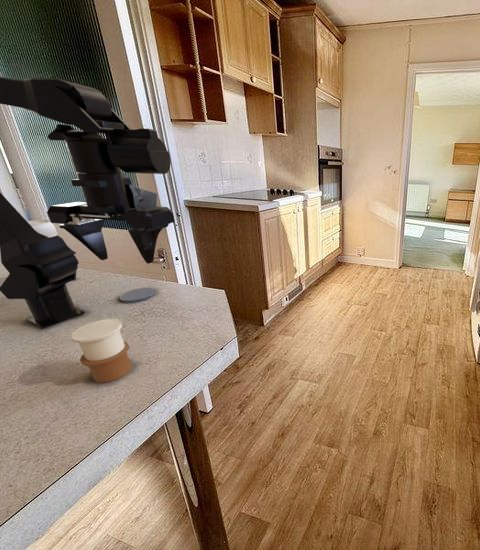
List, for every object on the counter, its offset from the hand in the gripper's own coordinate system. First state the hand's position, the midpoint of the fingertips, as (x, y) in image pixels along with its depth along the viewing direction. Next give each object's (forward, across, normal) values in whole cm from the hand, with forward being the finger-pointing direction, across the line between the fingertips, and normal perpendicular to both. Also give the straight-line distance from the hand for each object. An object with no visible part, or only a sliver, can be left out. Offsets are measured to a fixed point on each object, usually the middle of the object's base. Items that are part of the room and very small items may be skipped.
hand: (127, 261), depth 54 cm
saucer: (+12, +8, -8) cm, 16 cm away
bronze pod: (+12, -8, +15) cm, 21 cm away
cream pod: (+8, -8, +15) cm, 19 cm away
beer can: (+12, +32, -11) cm, 36 cm away
